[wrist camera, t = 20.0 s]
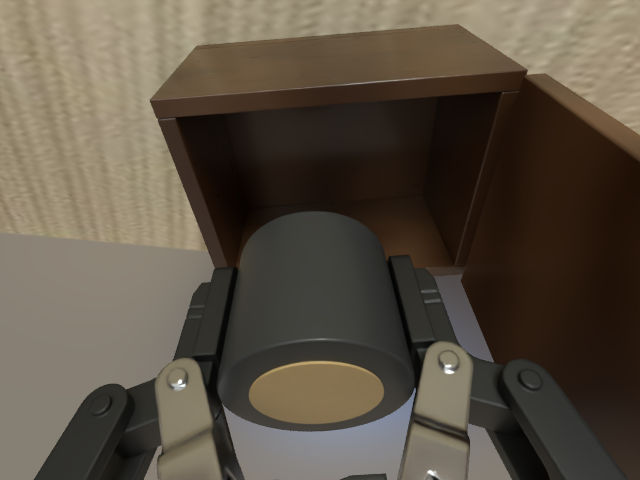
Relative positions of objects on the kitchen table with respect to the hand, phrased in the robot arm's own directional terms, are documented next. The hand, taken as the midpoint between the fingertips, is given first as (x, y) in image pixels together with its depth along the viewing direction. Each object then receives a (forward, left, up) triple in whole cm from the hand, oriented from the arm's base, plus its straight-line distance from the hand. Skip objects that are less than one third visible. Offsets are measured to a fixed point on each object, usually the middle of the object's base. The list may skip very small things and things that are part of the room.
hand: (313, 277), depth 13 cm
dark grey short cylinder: (0, 0, -1) cm, 1 cm away
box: (+1, 0, -12) cm, 12 cm away
